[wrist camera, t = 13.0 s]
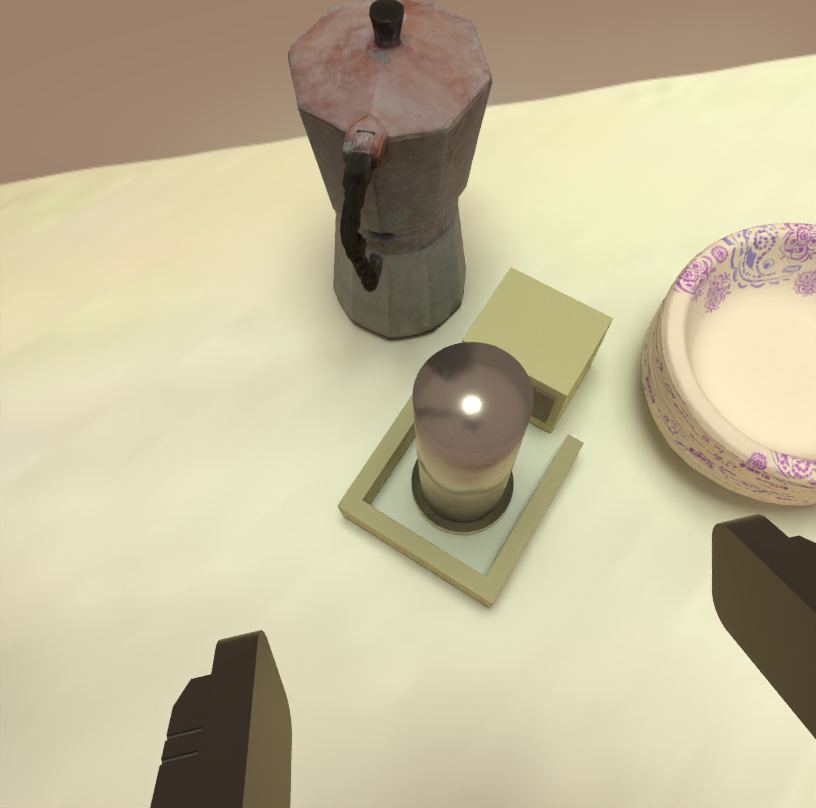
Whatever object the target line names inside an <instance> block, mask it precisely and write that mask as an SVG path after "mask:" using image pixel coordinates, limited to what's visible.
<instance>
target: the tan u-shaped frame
mask: <svg viewBox="0 0 816 808" xmlns="http://www.w3.org/2000/svg"><path fill="white" fill-rule="evenodd" d="M612 320H613V318H611V317H609V316H607V315H605V314H603V313H601V312H599V311H597V310H595V309H593V308H591V307H589V306H587V305H585V304H583V303H581V302H579V301H577V300H575V299H573V298H571V297H569V296H567V295H565V294H563V293H561V292H559V291H557V290H555V289H553V288H551V287H549V286H547V285H545V284H543V283H541V282H539V281H537V280H535V279H533V278H531V277H529V276H527V275H525V274H523V273H521V272H519V271H517V270H515V269H513V268H510V269H509V271H508V272H507V274H506V275H505V277H504V278H503V280H502V281H501V283H500V284H499V286H498V287H497V289H496V290H495V292H494V293H493V295H492V296H491V298H490V299H489V301H488V302H487V304H486V305H485V307H484V308H483V310H482V311H481V313H480V314H479V316H478V317H477V319H476V320H475V322H474V323H473V325H472V326H471V328H470V329H469V331H468V332H467V334H466V335H465V337H464V338H463V340H462V343H464V342H480V343H486V344H490V345H493V346H496V347H498V348H500V349H503V350H504V351H506V352H508V353H509V354H510V355H512V356H513V357H514V358H515V359H516V360H517V361H518V362H519V363H520V364H521V365H522V366H523V368H524V369H525V371H526V372H527V374H528V376H529V379H530V381H531V384H532V388H533V395H534V402H533V409H532V413H531V416H530V419H529V422H531V423H533V424H534V425H536V426H538V427H540V428H542V429H544V430H545V431H547V432H549V433H551V431H552V430H553V428H554V426H555V425H556V423H557V421H558V420H559V418H560V416H561V414H562V413H563V411H564V409H565V408H566V406H567V404H568V403H569V401H570V399H571V397H572V396H573V394H574V392H575V391H576V389H577V387H578V386H579V384H580V382H581V380H582V379H583V377H584V375H585V374H586V372H587V370H588V369H589V367H590V365H591V363H592V361H593V359H594V357H595V355H596V353H597V351H598V349H599V347H600V345H601V343H602V340H603V338H604V336H605V334H606V332H607V330H608V328H609V326H610V324H611V322H612ZM415 436H416V432H415V421H414V410H413V395H412V396H411V398H410V399H409V401H408V402H407V404H406V405H405V407H404V408H403V409H402V411H401V412H400V414H399V415H398V417H397V418H396V420H395V421H394V423H393V424H392V426H391V427H390V429H389V430H388V432H387V433H386V435H385V436H384V438H383V439H382V441H381V442H380V444H379V445H378V446H377V448H376V449H375V451H374V452H373V454H372V455H371V457H370V458H369V460H368V461H367V463H366V464H365V466H364V467H363V469H362V470H361V472H360V473H359V475H358V476H357V478H356V479H355V481H354V482H353V484H352V485H351V486H350V488H349V489H348V491H347V492H346V494H345V495H344V497H343V498H342V500H341V501H340V503H339V504H338V508H339V509H340V511H341V513H342V515H343V516H344V517H346V518H348V519H349V520H351V521H352V522H354V523H355V524H357V525H359V526H360V527H362V528H363V529H365V530H366V531H368V532H370V533H371V534H373V535H374V536H376V537H378V538H379V539H381V540H382V541H384V542H385V543H387V544H389V545H390V546H392V547H393V548H395V549H396V550H398V551H400V552H401V553H403V554H404V555H406V556H408V557H409V558H411V559H412V560H414V561H415V562H417V563H419V564H420V565H422V566H423V567H425V568H427V569H428V570H430V571H431V572H433V573H434V574H436V575H438V576H439V577H441V578H442V579H444V580H445V581H447V582H449V583H450V584H452V585H453V586H455V587H457V588H458V589H460V590H461V591H463V592H464V593H466V594H468V595H469V596H471V597H472V598H474V599H475V600H477V601H479V602H480V603H482V604H483V605H485V606H487V607H488V608H490V607H491V605H492V604H493V602H494V600H495V599H496V597H497V595H498V593H499V592H500V590H501V588H502V586H503V585H504V583H505V581H506V579H507V578H508V576H509V574H510V572H511V570H512V569H513V567H514V565H515V563H516V562H517V560H518V558H519V556H520V555H521V553H522V551H523V549H524V548H525V546H526V544H527V542H528V541H529V539H530V537H531V535H532V534H533V532H534V530H535V528H536V526H537V525H538V523H539V521H540V519H541V518H542V516H543V514H544V512H545V511H546V509H547V507H548V505H549V504H550V502H551V500H552V498H553V497H554V495H555V493H556V491H557V489H558V488H559V486H560V484H561V482H562V481H563V479H564V477H565V475H566V474H567V472H568V470H569V468H570V467H571V465H572V463H573V461H574V460H575V458H576V456H577V454H578V453H579V451H580V449H581V447H582V445H583V444H584V443H583V442H581V441H579V440H577V439H576V438H574V437H572V436H570V435H568V436H567V437H566V439H565V441H564V443H563V444H562V446H561V448H560V450H559V451H558V453H557V455H556V456H555V458H554V460H553V462H552V463H551V465H550V467H549V469H548V470H547V472H546V474H545V475H544V477H543V479H542V481H541V482H540V484H539V486H538V488H537V489H536V491H535V493H534V494H533V496H532V498H531V500H530V501H529V503H528V505H527V507H526V508H525V510H524V512H523V513H522V515H521V517H520V519H519V520H518V522H517V524H516V526H515V527H514V529H513V531H512V532H511V534H510V536H509V538H508V539H507V541H506V543H505V545H504V546H503V548H502V550H501V551H500V553H499V555H498V557H497V558H496V560H495V562H494V564H493V565H492V567H491V569H490V570H489V572H488V574H487V576H486V577H485V576H483V575H481V574H480V573H478V572H477V571H475V570H473V569H472V568H470V567H469V566H467V565H465V564H464V563H462V562H461V561H459V560H457V559H456V558H454V557H453V556H451V555H449V554H448V553H446V552H445V551H443V550H441V549H440V548H438V547H436V546H435V545H433V544H432V543H430V542H428V541H427V540H425V539H424V538H422V537H420V536H419V535H417V534H416V533H414V532H412V531H411V530H409V529H408V528H406V527H404V526H403V525H401V524H400V523H398V522H396V521H395V520H393V519H391V518H390V517H388V516H387V515H385V514H383V513H382V512H380V511H379V510H377V509H375V508H374V507H372V506H371V505H370V504H371V503H372V501H373V499H374V498H375V496H376V495H377V493H378V492H379V490H380V489H381V487H382V486H383V484H384V483H385V481H386V480H387V478H388V477H389V475H390V474H391V472H392V471H393V469H394V468H395V466H396V465H397V463H398V462H399V460H400V459H401V457H402V455H403V454H404V452H405V451H406V449H407V448H408V446H409V445H410V443H411V442H412V440H413V439H414V437H415Z"/></svg>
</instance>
